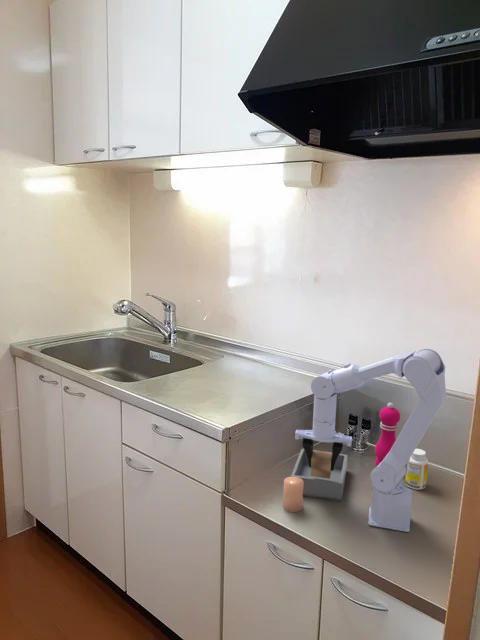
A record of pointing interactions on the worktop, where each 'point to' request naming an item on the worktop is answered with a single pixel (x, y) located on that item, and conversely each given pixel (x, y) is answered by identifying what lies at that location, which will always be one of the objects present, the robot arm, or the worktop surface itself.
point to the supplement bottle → (417, 470)
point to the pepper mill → (386, 432)
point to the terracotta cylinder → (293, 494)
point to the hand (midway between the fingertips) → (321, 467)
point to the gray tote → (321, 485)
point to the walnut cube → (321, 464)
